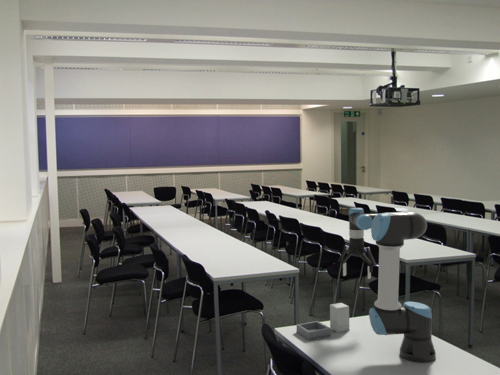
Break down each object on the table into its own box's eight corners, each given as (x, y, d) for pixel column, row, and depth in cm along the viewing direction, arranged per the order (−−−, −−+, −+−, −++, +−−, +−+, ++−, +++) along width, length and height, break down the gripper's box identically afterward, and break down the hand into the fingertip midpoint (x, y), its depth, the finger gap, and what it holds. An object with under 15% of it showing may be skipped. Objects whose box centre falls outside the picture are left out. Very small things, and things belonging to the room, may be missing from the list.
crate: (330, 336, 243) (330, 328, 243) (308, 340, 238) (308, 332, 238) (317, 328, 255) (317, 320, 254) (296, 332, 250) (296, 324, 250)
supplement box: (349, 330, 251) (349, 306, 250) (337, 332, 248) (337, 308, 247) (342, 326, 258) (341, 302, 257) (329, 328, 255) (329, 304, 254)
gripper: (382, 237, 256) (382, 278, 257) (337, 234, 269) (337, 272, 271) (377, 240, 250) (377, 281, 251) (331, 236, 263) (332, 275, 264)
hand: (356, 276), depth 261 cm, fingers open, 13 cm apart
